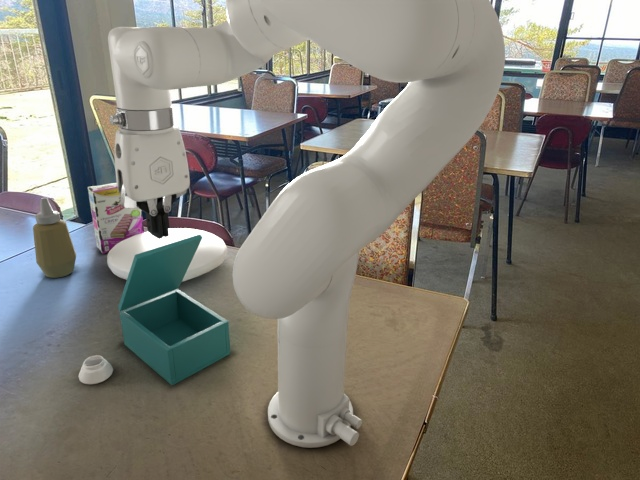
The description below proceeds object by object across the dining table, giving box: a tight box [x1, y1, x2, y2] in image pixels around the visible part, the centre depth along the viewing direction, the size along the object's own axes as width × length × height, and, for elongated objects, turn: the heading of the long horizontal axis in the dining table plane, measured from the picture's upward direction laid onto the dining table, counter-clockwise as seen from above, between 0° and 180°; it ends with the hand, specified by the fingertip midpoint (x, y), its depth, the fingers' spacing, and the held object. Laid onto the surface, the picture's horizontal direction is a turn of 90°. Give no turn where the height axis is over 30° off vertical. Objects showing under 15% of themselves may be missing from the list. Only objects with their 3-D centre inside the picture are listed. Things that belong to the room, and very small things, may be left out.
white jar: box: [78, 354, 114, 385], centre depth 77 cm, size 5×3×5 cm
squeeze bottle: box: [32, 196, 77, 279], centre depth 106 cm, size 8×8×18 cm
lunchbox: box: [119, 288, 231, 386], centre depth 84 cm, size 16×12×7 cm
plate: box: [106, 227, 228, 283], centre depth 114 cm, size 28×6×27 cm
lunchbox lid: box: [117, 234, 202, 312], centre depth 81 cm, size 16×12×1 cm
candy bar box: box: [87, 182, 145, 254], centre depth 121 cm, size 11×5×16 cm, turn 130°
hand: (159, 234), depth 77 cm, fingers closed
